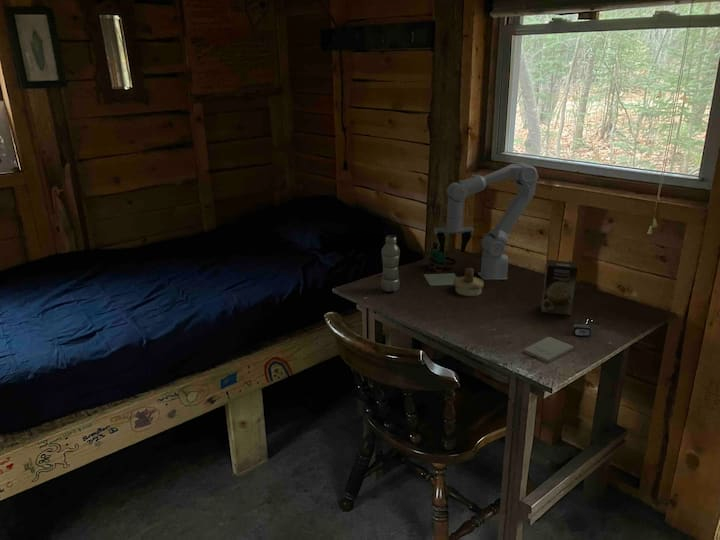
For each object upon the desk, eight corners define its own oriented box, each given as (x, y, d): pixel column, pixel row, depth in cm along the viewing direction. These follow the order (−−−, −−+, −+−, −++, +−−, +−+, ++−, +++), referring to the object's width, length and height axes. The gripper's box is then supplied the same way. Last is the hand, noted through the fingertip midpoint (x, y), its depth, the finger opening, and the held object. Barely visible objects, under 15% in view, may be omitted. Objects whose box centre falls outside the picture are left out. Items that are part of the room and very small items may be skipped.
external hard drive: (573, 351, 157) (547, 364, 150) (547, 341, 163) (521, 353, 156) (574, 346, 157) (548, 359, 149) (548, 336, 163) (522, 348, 155)
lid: (471, 277, 204) (472, 262, 202) (489, 286, 195) (490, 271, 193) (447, 282, 199) (448, 266, 197) (465, 291, 190) (466, 276, 188)
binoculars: (461, 246, 217) (439, 247, 213) (457, 272, 220) (436, 274, 216) (448, 240, 225) (427, 241, 220) (445, 266, 228) (424, 267, 223)
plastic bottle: (402, 292, 198) (404, 238, 191) (385, 295, 196) (386, 240, 189) (395, 286, 204) (396, 233, 197) (377, 289, 201) (378, 235, 195)
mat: (453, 274, 215) (454, 273, 215) (462, 285, 204) (462, 284, 204) (423, 275, 214) (423, 274, 214) (430, 287, 203) (430, 285, 203)
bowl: (476, 288, 202) (476, 280, 201) (483, 296, 194) (484, 288, 193) (453, 288, 201) (453, 281, 200) (459, 297, 193) (460, 289, 192)
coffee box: (541, 312, 181) (546, 265, 176) (540, 304, 187) (546, 259, 182) (571, 315, 179) (577, 267, 174) (570, 307, 185) (576, 261, 180)
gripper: (471, 213, 208) (468, 248, 213) (432, 214, 207) (430, 249, 211) (476, 218, 201) (474, 254, 206) (437, 218, 200) (435, 255, 204)
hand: (452, 252), depth 208 cm, fingers open, 7 cm apart
